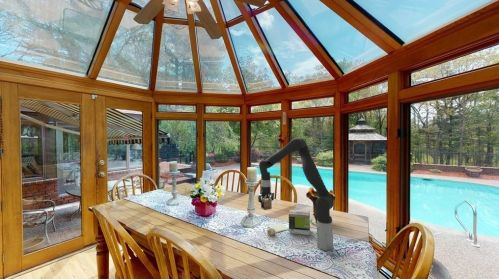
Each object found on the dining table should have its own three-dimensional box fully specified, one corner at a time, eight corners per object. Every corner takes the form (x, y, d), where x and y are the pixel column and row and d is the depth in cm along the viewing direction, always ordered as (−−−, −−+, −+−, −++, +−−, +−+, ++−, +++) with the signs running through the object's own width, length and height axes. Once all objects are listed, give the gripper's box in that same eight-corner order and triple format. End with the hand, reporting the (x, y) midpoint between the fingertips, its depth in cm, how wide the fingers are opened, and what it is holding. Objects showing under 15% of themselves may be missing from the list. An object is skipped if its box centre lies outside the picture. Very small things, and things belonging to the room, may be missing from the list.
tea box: (310, 230, 173) (310, 210, 173) (309, 235, 164) (309, 215, 163) (290, 227, 178) (290, 209, 177) (288, 233, 168) (288, 213, 167)
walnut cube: (271, 208, 175) (271, 201, 175) (265, 210, 173) (264, 202, 172) (267, 206, 181) (267, 199, 180) (260, 207, 178) (260, 200, 178)
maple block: (275, 235, 166) (275, 229, 166) (271, 236, 163) (271, 231, 163) (270, 233, 169) (270, 228, 169) (267, 235, 166) (267, 229, 166)
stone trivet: (289, 229, 175) (289, 228, 175) (276, 232, 169) (276, 231, 169) (280, 223, 185) (280, 222, 185) (267, 226, 180) (267, 225, 180)
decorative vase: (339, 228, 175) (337, 192, 174) (308, 227, 180) (306, 192, 179) (334, 217, 195) (332, 185, 195) (306, 217, 200) (305, 186, 199)
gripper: (260, 187, 169) (260, 210, 170) (276, 185, 176) (276, 206, 177) (255, 185, 176) (255, 207, 177) (271, 183, 183) (271, 204, 183)
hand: (266, 206), depth 177 cm, fingers closed on walnut cube, 6 cm apart
